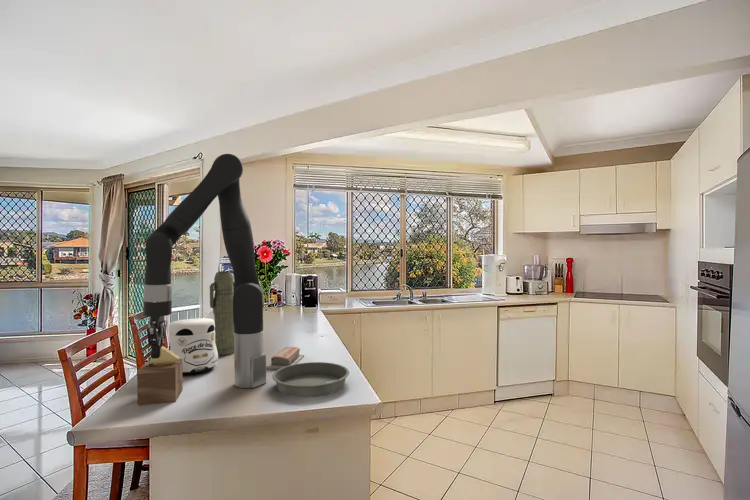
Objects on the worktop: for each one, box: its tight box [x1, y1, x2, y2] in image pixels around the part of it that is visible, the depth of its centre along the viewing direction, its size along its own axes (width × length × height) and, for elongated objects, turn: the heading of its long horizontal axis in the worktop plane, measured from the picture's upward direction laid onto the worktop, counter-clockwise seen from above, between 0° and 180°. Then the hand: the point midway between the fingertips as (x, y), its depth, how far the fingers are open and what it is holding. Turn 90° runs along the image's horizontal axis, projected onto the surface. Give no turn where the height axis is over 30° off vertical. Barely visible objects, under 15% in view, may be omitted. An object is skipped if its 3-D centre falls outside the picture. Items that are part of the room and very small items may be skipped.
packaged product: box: [266, 346, 305, 370], centre depth 160 cm, size 18×5×10 cm
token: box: [148, 345, 179, 366], centre depth 123 cm, size 2×5×6 cm
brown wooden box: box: [136, 359, 184, 406], centre depth 123 cm, size 10×10×10 cm
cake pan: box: [271, 361, 350, 398], centre depth 133 cm, size 25×25×4 cm
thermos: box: [209, 270, 235, 357], centre depth 175 cm, size 9×12×35 cm
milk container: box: [168, 317, 219, 375], centre depth 151 cm, size 17×17×18 cm
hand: (156, 356), depth 123 cm, fingers closed on token, 2 cm apart
